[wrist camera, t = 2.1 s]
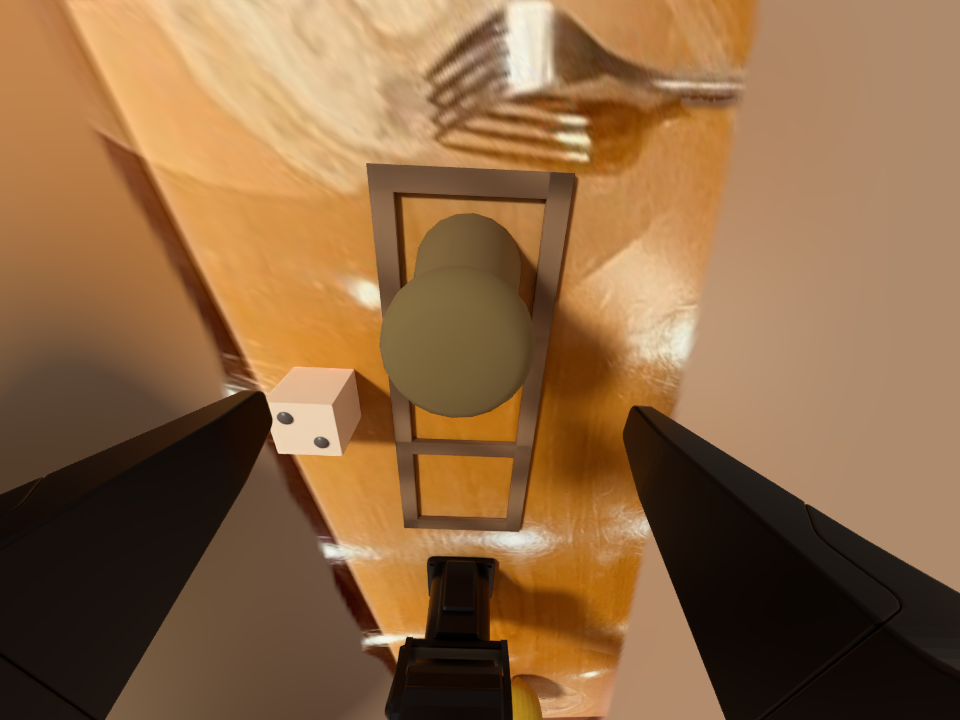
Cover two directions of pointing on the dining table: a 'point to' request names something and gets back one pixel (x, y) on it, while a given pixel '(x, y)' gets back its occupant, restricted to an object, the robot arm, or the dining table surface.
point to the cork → (460, 321)
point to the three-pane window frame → (556, 212)
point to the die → (314, 411)
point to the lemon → (524, 701)
